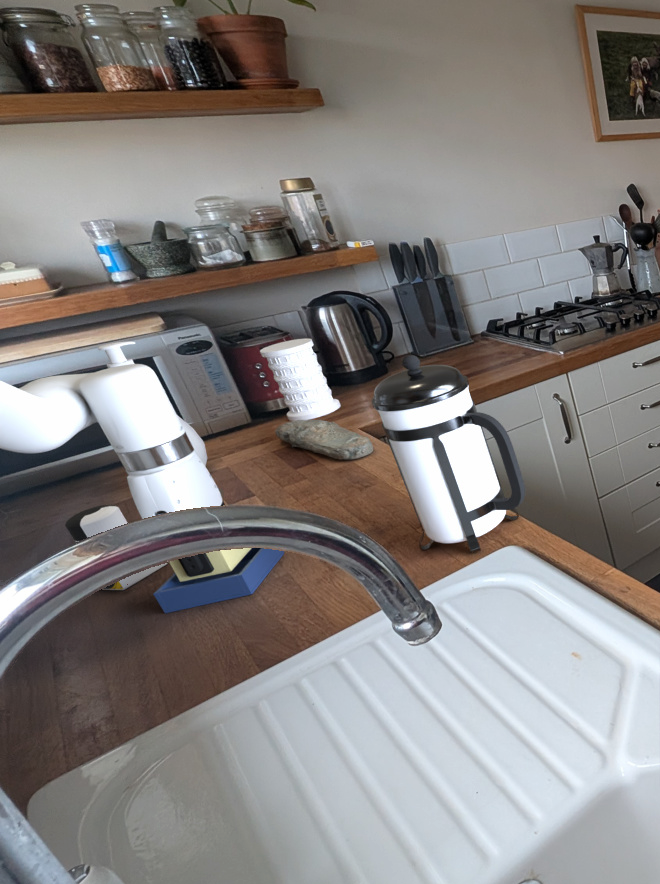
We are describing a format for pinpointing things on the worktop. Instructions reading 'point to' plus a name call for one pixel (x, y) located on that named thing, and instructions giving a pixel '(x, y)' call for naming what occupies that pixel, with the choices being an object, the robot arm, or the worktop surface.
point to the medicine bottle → (99, 522)
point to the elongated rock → (325, 439)
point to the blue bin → (218, 583)
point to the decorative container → (300, 379)
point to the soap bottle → (119, 360)
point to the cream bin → (214, 563)
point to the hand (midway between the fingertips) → (214, 559)
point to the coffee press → (446, 453)
